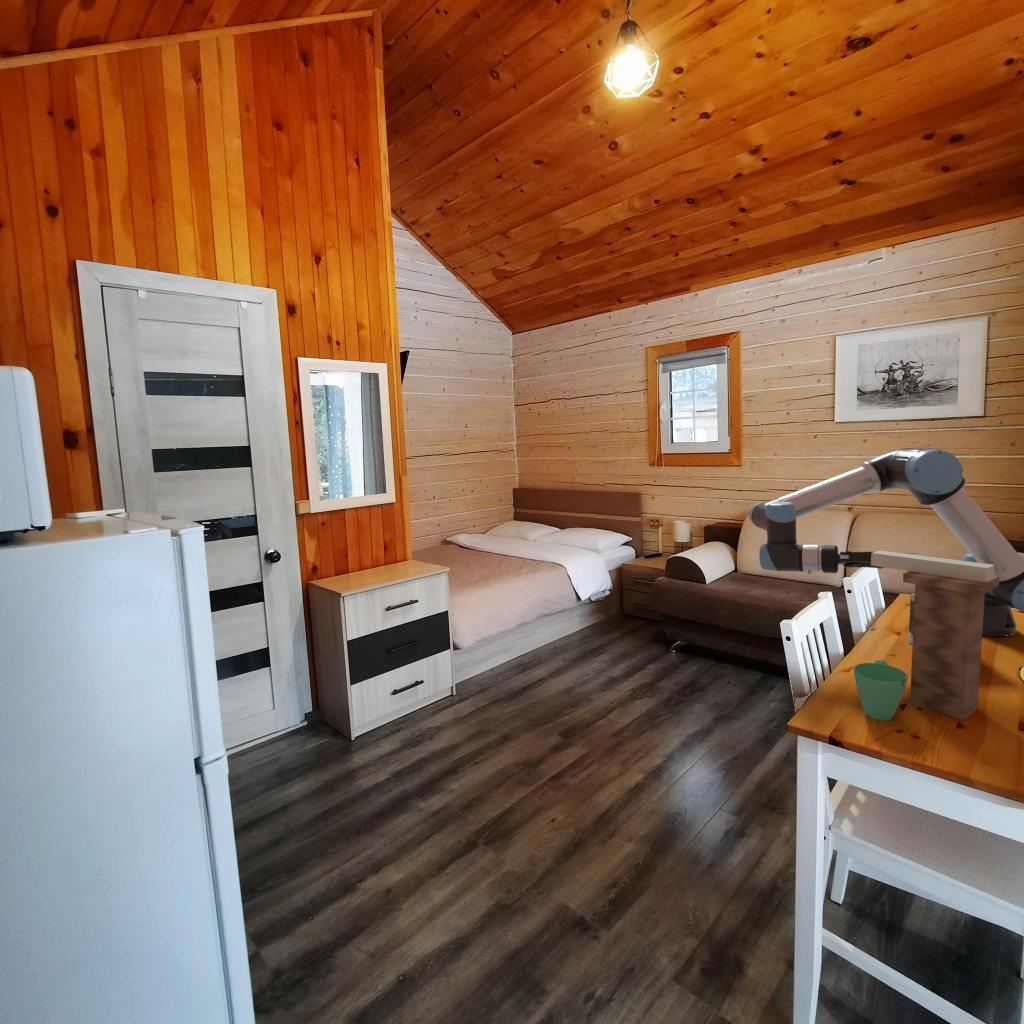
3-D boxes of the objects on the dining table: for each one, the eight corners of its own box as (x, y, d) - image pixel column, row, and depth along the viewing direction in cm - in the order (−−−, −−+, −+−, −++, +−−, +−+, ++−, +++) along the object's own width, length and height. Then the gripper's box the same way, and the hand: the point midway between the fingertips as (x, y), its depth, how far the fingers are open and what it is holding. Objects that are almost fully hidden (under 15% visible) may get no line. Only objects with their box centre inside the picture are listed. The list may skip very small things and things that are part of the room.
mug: (906, 730, 119) (908, 684, 118) (851, 720, 124) (852, 675, 123) (904, 701, 131) (906, 659, 130) (854, 693, 137) (855, 652, 135)
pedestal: (898, 701, 131) (903, 573, 127) (917, 689, 137) (923, 565, 133) (972, 725, 120) (981, 585, 116) (990, 710, 125) (999, 576, 121)
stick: (870, 565, 136) (871, 552, 135) (879, 562, 138) (879, 550, 138) (986, 582, 118) (987, 568, 117) (993, 578, 120) (994, 564, 119)
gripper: (825, 575, 167) (914, 579, 156) (816, 568, 147) (918, 572, 135) (825, 550, 168) (913, 551, 157) (816, 539, 148) (917, 540, 136)
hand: (916, 561), depth 146 cm, fingers open, 13 cm apart
